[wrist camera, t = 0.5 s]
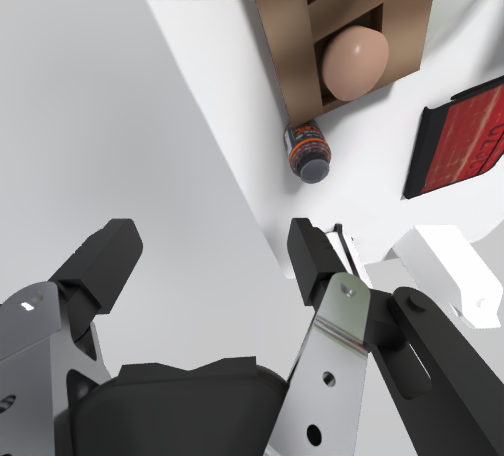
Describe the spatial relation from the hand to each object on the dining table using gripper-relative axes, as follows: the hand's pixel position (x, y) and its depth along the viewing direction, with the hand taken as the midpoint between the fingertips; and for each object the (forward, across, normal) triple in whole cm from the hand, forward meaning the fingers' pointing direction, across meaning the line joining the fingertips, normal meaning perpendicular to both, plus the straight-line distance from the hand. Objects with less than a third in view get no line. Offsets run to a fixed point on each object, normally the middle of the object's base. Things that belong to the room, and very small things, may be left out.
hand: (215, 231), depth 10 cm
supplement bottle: (+28, -12, 0) cm, 30 cm away
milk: (+34, -59, +30) cm, 75 cm away
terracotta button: (+23, -15, -9) cm, 28 cm away
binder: (+28, -43, +1) cm, 51 cm away
